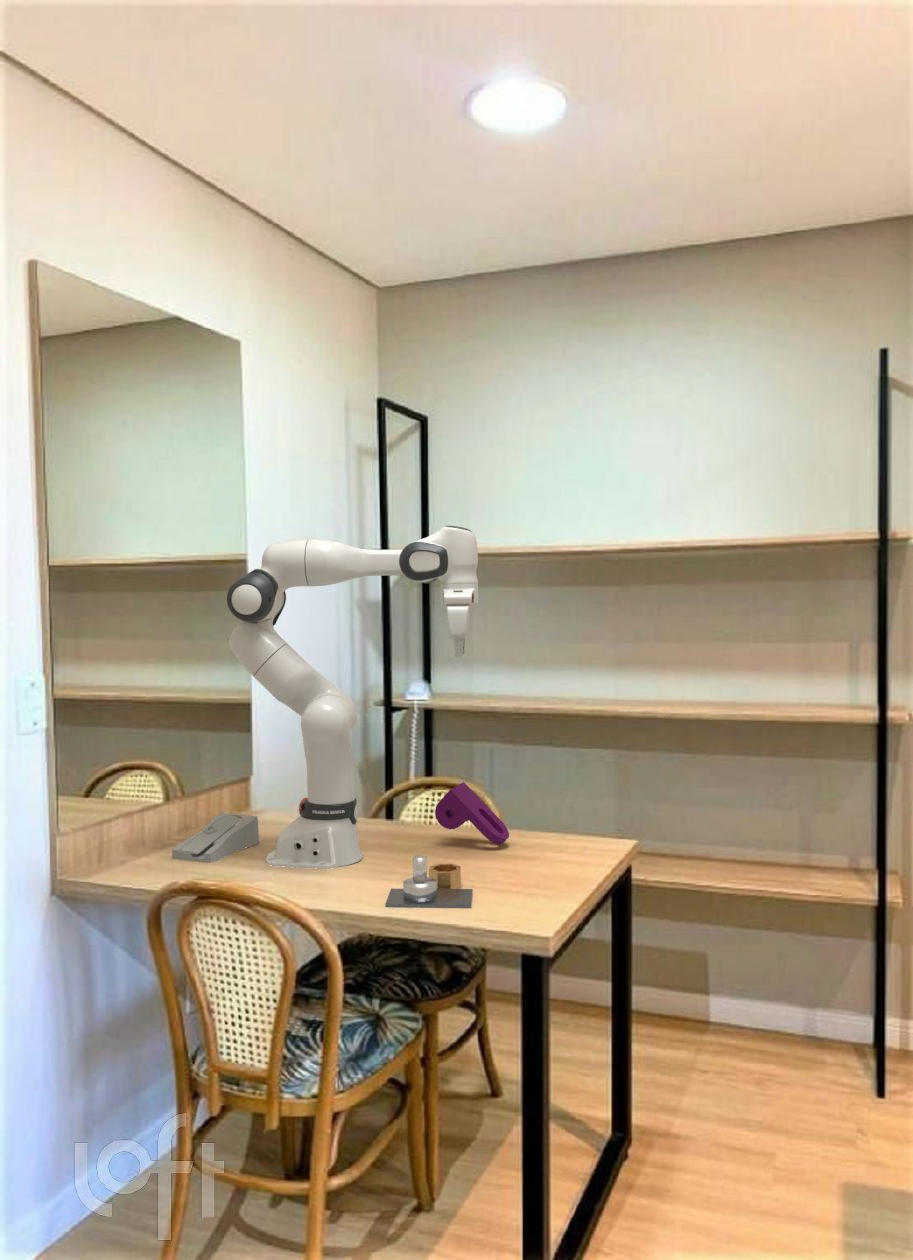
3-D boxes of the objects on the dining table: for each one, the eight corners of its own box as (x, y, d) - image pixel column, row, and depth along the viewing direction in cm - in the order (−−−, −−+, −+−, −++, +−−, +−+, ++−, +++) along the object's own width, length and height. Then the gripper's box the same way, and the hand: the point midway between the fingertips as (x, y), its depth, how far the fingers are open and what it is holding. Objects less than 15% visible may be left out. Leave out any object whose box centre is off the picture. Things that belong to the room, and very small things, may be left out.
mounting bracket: (492, 855, 247) (443, 804, 251) (513, 833, 245) (463, 781, 249) (479, 866, 238) (429, 812, 243) (501, 843, 236) (450, 789, 240)
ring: (428, 891, 204) (428, 872, 204) (430, 881, 211) (430, 863, 211) (459, 891, 204) (459, 872, 204) (461, 881, 211) (461, 863, 210)
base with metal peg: (385, 909, 194) (384, 864, 193) (391, 893, 204) (390, 850, 203) (471, 909, 193) (470, 864, 192) (472, 893, 203) (472, 850, 202)
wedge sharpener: (259, 843, 246) (258, 815, 246) (210, 864, 228) (209, 834, 227) (223, 839, 250) (222, 812, 250) (172, 859, 232) (171, 830, 231)
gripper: (448, 595, 237) (448, 652, 238) (443, 596, 216) (443, 659, 217) (474, 595, 237) (474, 652, 237) (471, 596, 216) (472, 659, 217)
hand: (459, 655), depth 227 cm, fingers open, 8 cm apart
